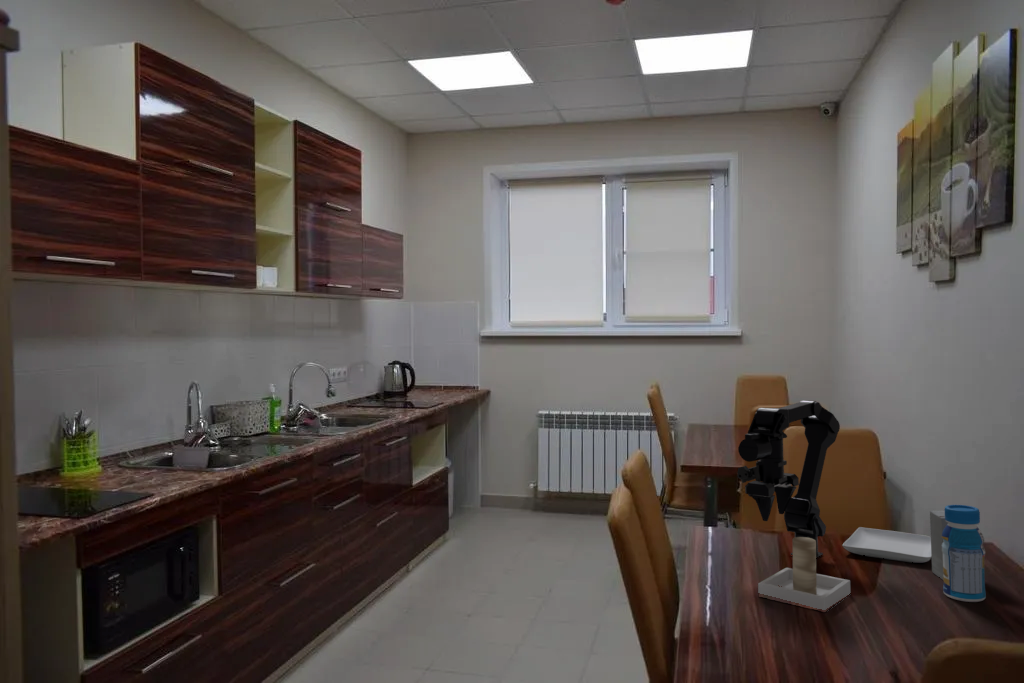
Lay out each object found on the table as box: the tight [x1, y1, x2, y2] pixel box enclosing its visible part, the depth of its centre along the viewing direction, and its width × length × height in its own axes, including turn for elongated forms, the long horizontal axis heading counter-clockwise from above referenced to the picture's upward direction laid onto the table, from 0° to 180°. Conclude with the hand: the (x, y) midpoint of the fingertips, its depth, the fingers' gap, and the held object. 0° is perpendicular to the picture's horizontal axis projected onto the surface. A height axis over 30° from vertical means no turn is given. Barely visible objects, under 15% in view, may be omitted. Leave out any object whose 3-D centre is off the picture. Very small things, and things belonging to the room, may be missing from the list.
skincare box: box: [929, 510, 978, 581], centre depth 177 cm, size 8×7×16 cm
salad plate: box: [842, 526, 932, 564], centre depth 199 cm, size 21×21×3 cm
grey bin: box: [757, 567, 851, 610], centre depth 168 cm, size 15×15×3 cm
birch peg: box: [791, 536, 817, 595], centre depth 168 cm, size 5×5×12 cm
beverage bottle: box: [941, 504, 987, 603], centre depth 164 cm, size 8×8×20 cm
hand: (773, 517), depth 188 cm, fingers open, 9 cm apart
